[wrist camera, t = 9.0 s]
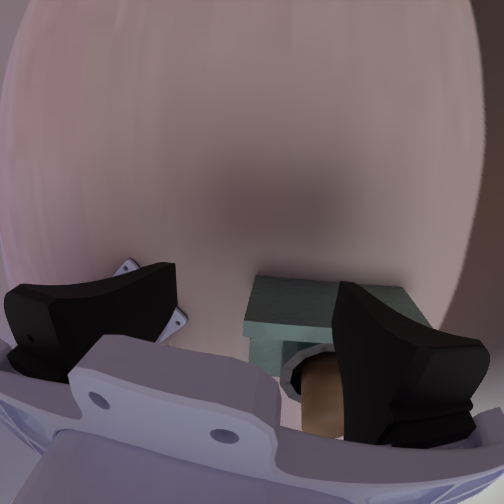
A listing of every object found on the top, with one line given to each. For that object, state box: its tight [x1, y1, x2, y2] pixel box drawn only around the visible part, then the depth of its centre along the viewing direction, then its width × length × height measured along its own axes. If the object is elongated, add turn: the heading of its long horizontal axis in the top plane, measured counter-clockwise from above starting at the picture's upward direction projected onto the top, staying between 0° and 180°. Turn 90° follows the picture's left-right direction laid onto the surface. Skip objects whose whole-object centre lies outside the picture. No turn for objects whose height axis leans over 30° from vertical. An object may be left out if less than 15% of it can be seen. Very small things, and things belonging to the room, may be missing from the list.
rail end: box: [300, 351, 344, 438], centre depth 19 cm, size 4×4×8 cm
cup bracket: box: [243, 275, 432, 403], centre depth 21 cm, size 10×13×7 cm
